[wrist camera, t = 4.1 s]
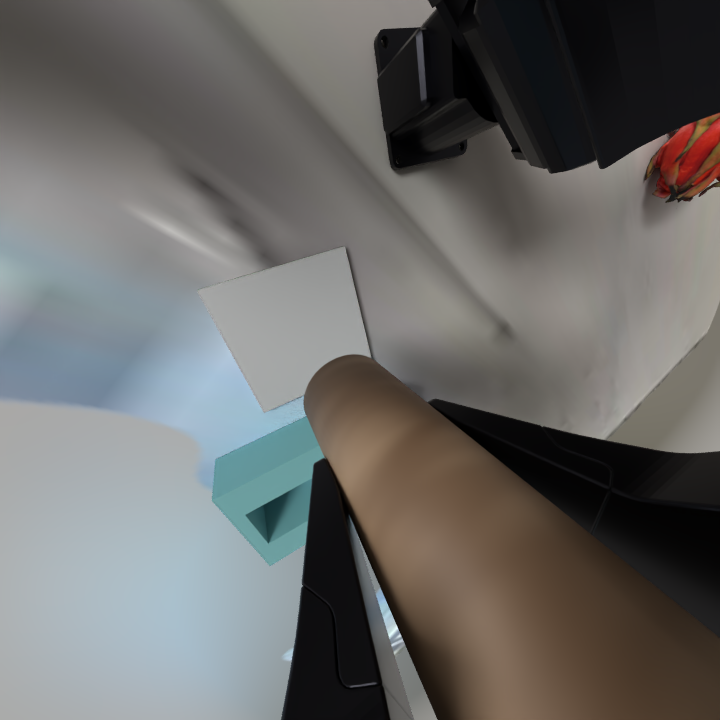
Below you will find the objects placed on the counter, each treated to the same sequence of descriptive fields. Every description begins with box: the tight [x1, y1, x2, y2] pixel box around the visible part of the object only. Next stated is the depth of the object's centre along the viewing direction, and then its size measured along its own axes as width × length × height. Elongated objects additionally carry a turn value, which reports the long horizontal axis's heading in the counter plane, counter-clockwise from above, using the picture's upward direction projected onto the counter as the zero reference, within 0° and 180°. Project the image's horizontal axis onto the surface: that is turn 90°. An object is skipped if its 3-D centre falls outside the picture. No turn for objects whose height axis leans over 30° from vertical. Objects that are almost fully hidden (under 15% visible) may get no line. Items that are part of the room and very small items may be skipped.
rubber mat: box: [197, 247, 371, 413], centre depth 19 cm, size 10×10×1 cm
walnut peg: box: [304, 354, 720, 720], centre depth 7 cm, size 4×4×10 cm
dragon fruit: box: [646, 113, 720, 203], centre depth 27 cm, size 8×8×12 cm
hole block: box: [212, 416, 324, 566], centre depth 23 cm, size 16×10×4 cm, turn 105°
